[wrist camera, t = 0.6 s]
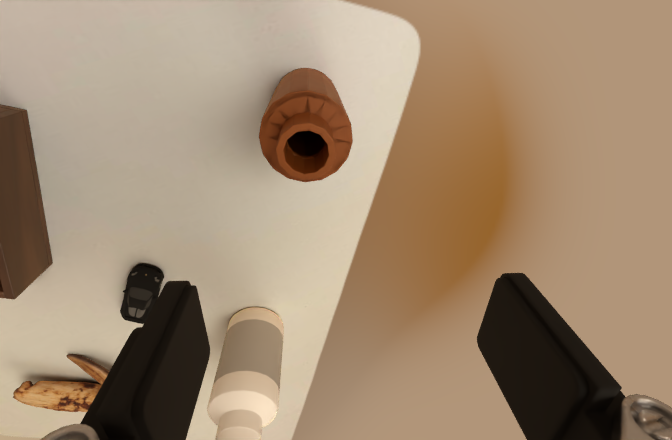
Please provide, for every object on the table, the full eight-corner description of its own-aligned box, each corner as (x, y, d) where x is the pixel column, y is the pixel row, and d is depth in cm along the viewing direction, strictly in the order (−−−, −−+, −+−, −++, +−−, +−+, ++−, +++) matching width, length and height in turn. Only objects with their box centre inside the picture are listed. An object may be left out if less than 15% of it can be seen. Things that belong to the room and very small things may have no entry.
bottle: (268, 72, 29) (242, 107, 18) (334, 63, 29) (352, 92, 18) (281, 137, 32) (266, 204, 20) (341, 129, 32) (361, 191, 20)
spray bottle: (292, 315, 43) (284, 481, 28) (271, 350, 46) (254, 518, 31) (239, 298, 41) (199, 467, 26) (221, 336, 44) (175, 508, 29)
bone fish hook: (180, 368, 47) (27, 343, 42) (169, 400, 43) (-2, 376, 38) (168, 410, 51) (26, 391, 46) (157, 443, 47) (-1, 426, 42)
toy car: (134, 258, 37) (125, 271, 36) (167, 268, 38) (160, 280, 37) (123, 310, 41) (114, 323, 39) (154, 317, 42) (147, 331, 40)
